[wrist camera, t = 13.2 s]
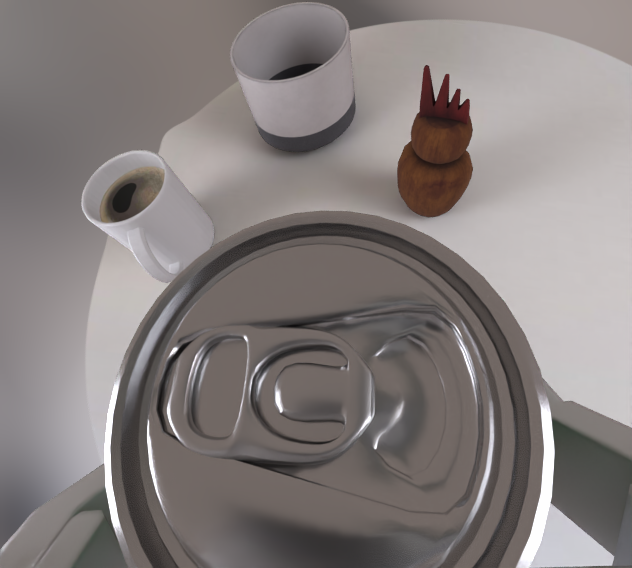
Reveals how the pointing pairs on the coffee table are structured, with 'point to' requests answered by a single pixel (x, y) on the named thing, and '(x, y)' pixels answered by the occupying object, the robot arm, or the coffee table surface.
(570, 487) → the robot arm
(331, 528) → the soda can
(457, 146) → the wooden figurine
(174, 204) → the mug
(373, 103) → the coffee table surface
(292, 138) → the planter
